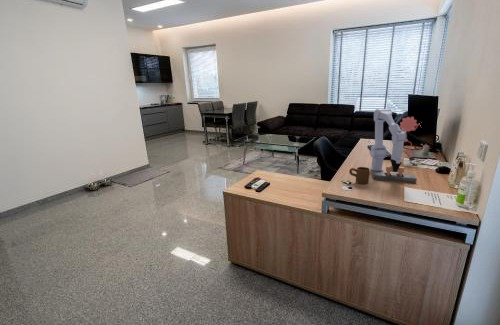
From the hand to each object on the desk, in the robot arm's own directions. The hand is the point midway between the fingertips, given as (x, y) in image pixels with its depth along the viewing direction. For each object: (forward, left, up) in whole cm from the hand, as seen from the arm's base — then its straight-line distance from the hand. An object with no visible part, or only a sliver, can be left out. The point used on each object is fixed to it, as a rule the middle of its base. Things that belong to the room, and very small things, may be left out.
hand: (394, 171), depth 164 cm
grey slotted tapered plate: (0, 0, -6) cm, 6 cm away
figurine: (-60, +17, -6) cm, 63 cm away
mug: (+12, -22, -6) cm, 26 cm away
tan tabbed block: (0, 0, -4) cm, 4 cm away
